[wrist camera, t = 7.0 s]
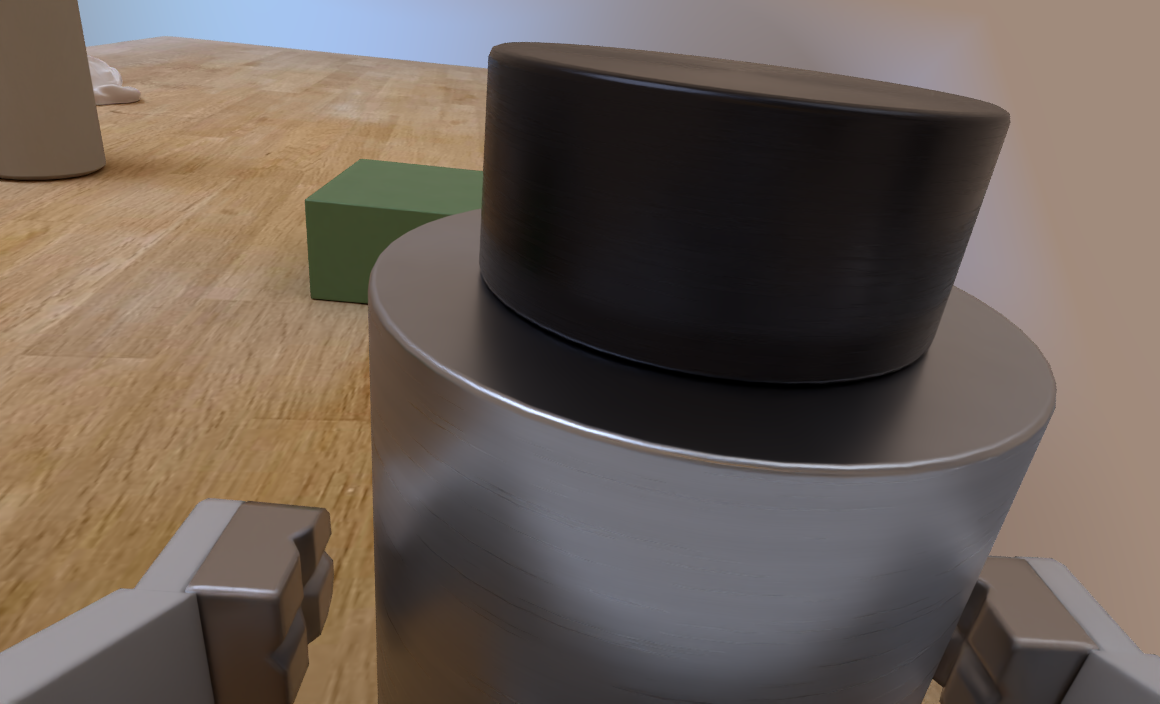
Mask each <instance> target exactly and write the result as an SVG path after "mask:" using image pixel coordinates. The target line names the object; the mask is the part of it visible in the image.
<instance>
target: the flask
mask: <svg viewBox="0 0 1160 704" xmlns="http://www.w3.org/2000/svg"><path fill="white" fill-rule="evenodd" d="M1009 125H1010V114H1009V113H1008V112H1007V111H1006V110H1004V109H1002V108H1001V107H999V106H997V105H994V104H991V103H988V102H984V101H981V100H977V99H973V98H968V97H964V96H959V95H955V94H949V93H945V92H940V91H935V90H929V89H923V88H918V87H913V86H907V85H901V84H894V83H889V82H883V81H876V80H870V79H864V78H858V77H851V76H845V75H838V74H831V73H824V72H817V71H810V70H803V69H796V68H788V67H781V66H774V65H766V64H757V63H751V62H743V61H734V60H726V59H718V58H709V57H700V56H692V55H683V54H674V53H664V52H655V51H645V50H635V49H624V48H613V47H600V46H589V45H575V44H559V43H539V42H512V43H504V44H500V45H497V46H494V47H493V48H492V50H491V52H490V54H489V58H488V78H487V100H486V121H485V143H484V165H483V186H482V208H481V209H476V210H472V211H467V212H463V213H459V214H455V215H451V216H447V217H444V218H441V219H438V220H435V221H432V222H429V223H426V224H424V225H422V226H420V227H417V228H415V229H413V230H411V231H409V232H407V233H406V234H404V235H402V236H401V237H399V238H398V239H396V240H395V241H393V242H392V243H391V244H390V245H389V246H388V247H387V248H386V249H385V250H384V251H383V252H382V253H381V254H380V255H379V257H378V259H377V261H376V263H375V265H374V267H373V269H372V271H371V273H370V278H369V285H368V320H369V360H370V400H371V441H372V481H373V521H374V562H375V602H376V642H377V683H378V704H921V702H922V700H923V698H924V696H925V694H926V691H927V689H928V687H929V685H930V683H931V680H932V678H933V676H934V674H935V672H936V669H937V667H938V665H939V663H940V661H941V658H942V656H943V654H944V652H945V650H946V648H947V645H948V643H949V641H950V639H951V637H952V634H953V632H954V630H955V628H956V626H957V623H958V621H959V619H960V617H961V615H962V612H963V610H964V608H965V606H966V604H967V601H968V599H969V597H970V595H971V593H972V590H973V588H974V586H975V584H976V582H977V579H978V577H979V575H980V573H981V571H982V568H983V566H984V564H985V562H986V560H987V557H988V555H989V553H990V551H991V549H992V546H993V544H994V542H995V540H996V538H997V535H998V533H999V531H1000V529H1001V526H1002V524H1003V522H1004V520H1005V518H1006V515H1007V513H1008V511H1009V509H1010V507H1011V504H1012V502H1013V500H1014V498H1015V496H1016V494H1017V491H1018V489H1019V487H1020V485H1021V482H1022V480H1023V478H1024V476H1025V474H1026V472H1027V469H1028V467H1029V465H1030V463H1031V460H1032V458H1033V456H1034V454H1035V452H1036V450H1037V447H1038V445H1039V443H1040V441H1041V439H1042V436H1043V434H1044V432H1045V430H1046V428H1047V425H1048V423H1049V421H1050V419H1051V417H1052V415H1053V412H1054V410H1055V406H1056V382H1055V379H1054V376H1053V373H1052V370H1051V367H1050V364H1049V363H1048V361H1047V360H1046V358H1045V357H1044V355H1043V354H1042V352H1041V351H1040V349H1039V348H1038V347H1037V345H1036V344H1035V343H1034V342H1033V341H1032V340H1031V339H1030V338H1029V337H1028V336H1027V335H1026V334H1025V333H1024V332H1023V331H1022V330H1021V329H1019V328H1018V327H1017V326H1016V325H1015V324H1013V323H1012V322H1010V321H1009V320H1008V319H1007V318H1006V317H1004V316H1003V315H1002V314H1000V313H999V312H997V311H996V310H994V309H993V308H991V307H989V306H988V305H987V304H985V303H984V302H982V301H980V300H979V299H977V298H975V297H974V296H972V295H970V294H968V293H967V292H965V291H963V290H961V289H959V288H957V287H956V286H954V285H953V284H954V281H955V278H956V275H957V273H958V269H959V267H960V264H961V261H962V258H963V256H964V253H965V250H966V247H967V244H968V241H969V238H970V236H971V233H972V230H973V227H974V224H975V222H976V219H977V216H978V213H979V210H980V207H981V205H982V202H983V199H984V196H985V193H986V190H987V187H988V185H989V182H990V179H991V176H992V173H993V171H994V168H995V165H996V162H997V159H998V156H999V154H1000V150H1001V148H1002V145H1003V142H1004V139H1005V137H1006V134H1007V131H1008V128H1009Z"/></svg>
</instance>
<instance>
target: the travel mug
mask: <svg viewBox="0 0 1160 704" xmlns="http://www.w3.org/2000/svg"><path fill="white" fill-rule="evenodd" d="M105 164H106V159H105V153H104V148H103V142H102V137H101V131H100V125H99V120H98V114H97V108H96V103H95V97H94V91H93V86H92V80H91V75H90V69H89V63H88V58H87V52H86V46H85V41H84V35H83V30H82V24H81V19H80V13H79V8H78V1H77V0H0V178H6V179H17V180H50V179H63V178H72V177H77V176H83V175H87V174H90V173H92V172H95V171H97V170H98V169H100V168H102V167H103V166H105Z"/></svg>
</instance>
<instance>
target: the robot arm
mask: <svg viewBox="0 0 1160 704" xmlns="http://www.w3.org/2000/svg"><path fill="white" fill-rule="evenodd" d="M331 534H332V533H331V523H330V513H329V512H328V511H327V510H326V509H325V508H318V507H307V506H297V505H286V504H276V503H265V502H254V501H247V502H245V501H238V500H226V499H215V498H207V499H205V500H203V501H201V502H199V503H198V504H197V505H196V506H195V508H194V509H193V510H192V512H191V513H190V514H189V516H188V517H187V518H186V520H185V521H184V522H183V524H182V525H181V526H180V528H179V529H178V530H177V532H176V533H175V534H174V536H173V537H172V538H171V540H170V541H169V542H168V544H167V545H166V546H165V548H164V549H163V550H162V552H161V553H160V554H159V556H158V557H157V558H156V560H155V561H154V562H153V564H152V565H151V566H150V568H149V569H148V570H147V572H146V573H145V574H144V576H143V577H142V578H141V580H140V581H139V582H138V584H137V585H136V586H135V588H134V589H122V588H120V589H119V590H117V591H115V592H113V593H111V594H109V595H107V596H105V597H104V598H102V599H100V600H98V601H96V602H94V603H92V604H90V605H89V606H87V607H85V608H83V609H81V610H79V611H77V612H76V613H74V614H72V615H70V616H68V617H66V618H64V619H62V620H61V621H59V622H57V623H55V624H53V625H51V626H49V627H47V628H46V629H44V630H42V631H40V632H38V633H36V634H34V635H33V636H31V637H29V638H27V639H25V640H23V641H21V642H19V643H18V644H16V645H14V646H12V647H10V648H8V649H6V650H4V651H3V652H1V653H0V704H293V703H294V701H295V698H296V696H297V693H298V691H299V688H300V686H301V683H302V681H303V678H304V676H305V673H306V671H307V668H308V666H309V657H308V644H309V643H310V642H312V641H313V640H314V639H316V638H317V637H318V636H320V635H321V632H322V630H323V627H324V624H325V622H326V619H327V616H328V612H329V607H330V603H331V598H332V594H333V580H334V567H333V560H332V559H331V558H330V556H329V555H328V554H327V553H326V552H325V551H324V550H325V548H326V545H327V543H328V541H329V538H330V536H331ZM932 679H933V680H935V681H936V682H937V683H938V684H940V685H941V686H942V687H943V688H942V692H941V697H940V701H939V702H940V703H941V704H1160V657H1159V656H1157V655H1155V654H1144V653H1143V652H1142V651H1141V650H1140V649H1139V648H1138V646H1137V645H1136V644H1135V643H1134V642H1133V641H1132V640H1131V639H1130V638H1129V636H1128V635H1127V634H1126V633H1125V632H1124V631H1123V630H1122V629H1121V628H1120V627H1119V626H1118V624H1117V623H1116V622H1115V621H1114V620H1113V619H1112V617H1111V616H1110V615H1109V614H1108V613H1107V612H1106V611H1105V610H1104V609H1103V607H1102V606H1101V605H1100V604H1099V603H1098V602H1097V601H1096V600H1095V599H1094V597H1093V596H1091V594H1090V593H1089V592H1088V591H1087V590H1086V589H1085V588H1084V586H1083V585H1082V584H1081V583H1080V582H1079V581H1078V580H1077V579H1076V577H1075V576H1074V575H1073V574H1072V573H1071V572H1070V571H1069V570H1068V569H1067V567H1066V566H1065V565H1063V564H1062V563H1059V562H1058V561H1056V560H1054V559H1052V558H1038V557H1017V556H1015V557H1001V556H988V557H987V560H986V562H985V564H984V566H983V568H982V571H981V573H980V575H979V577H978V579H977V582H976V584H975V586H974V588H973V590H972V593H971V595H970V597H969V599H968V601H967V604H966V606H965V608H964V610H963V612H962V615H961V617H960V619H959V621H958V623H957V626H956V628H955V630H954V632H953V634H952V637H951V639H950V641H949V643H948V645H947V648H946V650H945V652H944V654H943V656H942V658H941V661H940V663H939V665H938V667H937V669H936V672H935V674H934V676H933V678H932Z"/></svg>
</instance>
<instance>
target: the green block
mask: <svg viewBox="0 0 1160 704" xmlns="http://www.w3.org/2000/svg"><path fill="white" fill-rule="evenodd" d="M482 186H483V171H476V170H466V169H456V168H446V167H437V166H427V165H417V164H407V163H398V162H388V161H378V160H369V159H360V160H358V161H357V162H356V163H354V164H353V165H352V166H350V167H349V168H348V169H346V170H345V171H343V172H342V173H341V174H339V175H338V176H337V177H335V178H334V179H333V180H331V181H330V182H329V183H327V184H326V185H324V186H323V187H322V188H320V189H319V190H318V191H316V192H315V193H314V194H312V195H311V196H309V197H308V198H307V199H305V212H306V228H307V244H308V260H309V276H310V293H311V298H313V299H324V300H335V301H346V302H357V303H368V285H369V278H370V273H371V271H372V269H373V267H374V265H375V263H376V261H377V259H378V257H379V255H380V254H381V253H382V252H383V251H384V250H385V249H386V248H387V247H388V246H389V245H390V244H391V243H392V242H393V241H395V240H396V239H398V238H399V237H401V236H402V235H404V234H406V233H407V232H409V231H411V230H413V229H415V228H417V227H420V226H422V225H424V224H426V223H429V222H432V221H435V220H438V219H441V218H444V217H447V216H451V215H455V214H459V213H463V212H467V211H472V210H476V209H481V208H482Z"/></svg>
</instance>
